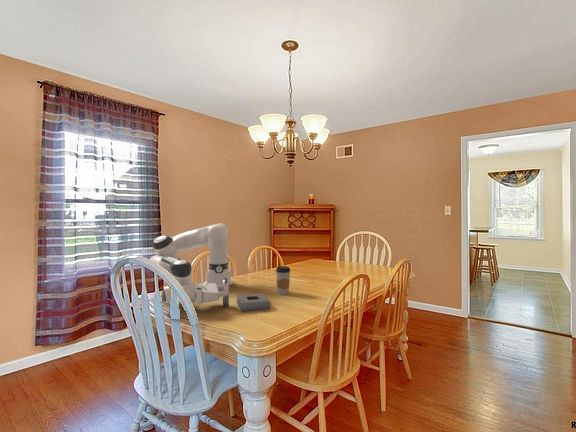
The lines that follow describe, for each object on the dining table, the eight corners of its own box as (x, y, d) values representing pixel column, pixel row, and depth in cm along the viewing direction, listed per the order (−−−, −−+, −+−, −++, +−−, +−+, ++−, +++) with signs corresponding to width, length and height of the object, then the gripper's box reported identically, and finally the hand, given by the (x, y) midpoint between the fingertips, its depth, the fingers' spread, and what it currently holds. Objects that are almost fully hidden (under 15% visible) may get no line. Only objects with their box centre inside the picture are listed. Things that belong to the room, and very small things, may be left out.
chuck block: (236, 303, 159) (236, 295, 159) (263, 300, 163) (263, 293, 163) (240, 311, 146) (240, 303, 146) (269, 309, 150) (269, 300, 150)
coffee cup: (277, 295, 173) (277, 269, 173) (274, 291, 181) (274, 266, 181) (292, 294, 175) (292, 268, 175) (288, 290, 183) (288, 265, 183)
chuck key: (222, 305, 156) (222, 277, 155) (228, 304, 157) (228, 277, 156) (223, 308, 151) (223, 279, 151) (229, 307, 152) (229, 279, 151)
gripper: (197, 293, 160) (225, 291, 164) (198, 305, 140) (229, 302, 144) (197, 281, 159) (225, 279, 164) (198, 291, 140) (229, 289, 144)
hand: (227, 290), depth 154 cm, fingers open, 8 cm apart
